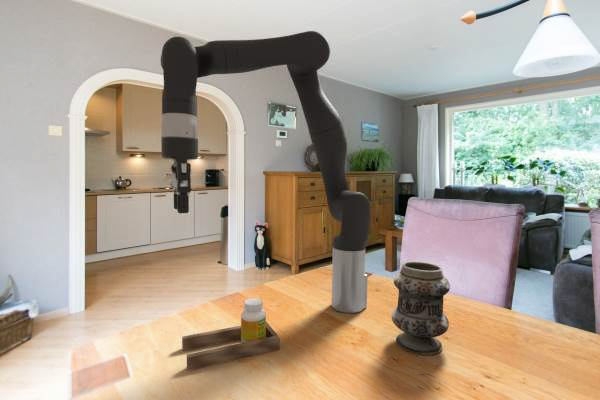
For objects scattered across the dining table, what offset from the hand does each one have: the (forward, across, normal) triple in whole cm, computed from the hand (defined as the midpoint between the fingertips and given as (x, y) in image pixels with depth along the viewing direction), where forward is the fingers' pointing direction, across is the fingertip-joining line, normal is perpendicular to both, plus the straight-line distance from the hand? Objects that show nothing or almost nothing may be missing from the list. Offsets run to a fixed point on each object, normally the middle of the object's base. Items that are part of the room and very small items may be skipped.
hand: (180, 211), depth 73 cm
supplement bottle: (+30, -9, -14) cm, 34 cm away
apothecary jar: (+30, -24, -48) cm, 61 cm away
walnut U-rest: (+29, -9, -9) cm, 32 cm away
